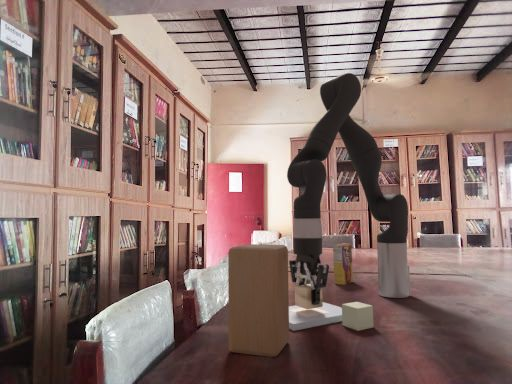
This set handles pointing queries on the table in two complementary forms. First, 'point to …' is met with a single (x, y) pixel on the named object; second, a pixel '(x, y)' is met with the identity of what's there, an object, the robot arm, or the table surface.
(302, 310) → the board
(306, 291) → the maple block
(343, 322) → the sage cap block
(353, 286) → the table surface
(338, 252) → the candy box
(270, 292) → the wooden block
